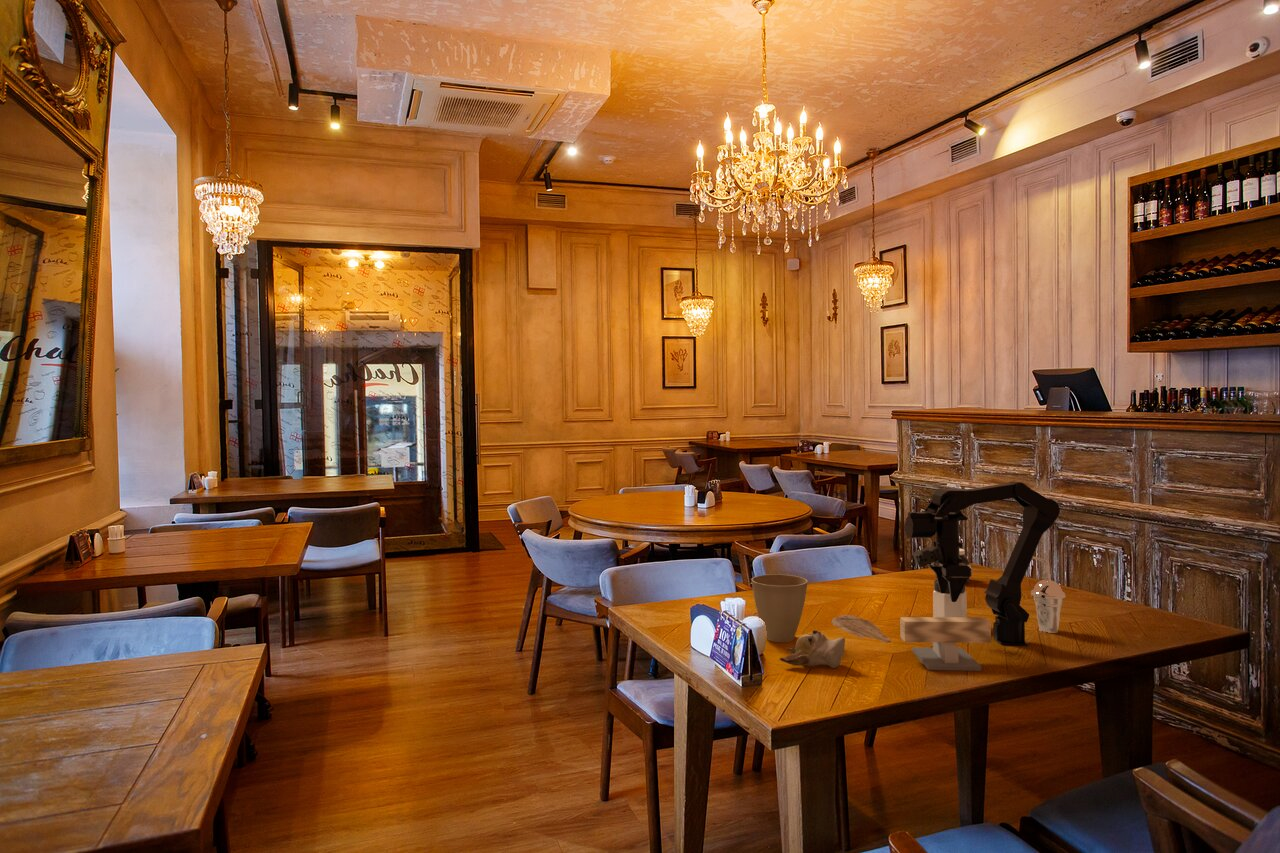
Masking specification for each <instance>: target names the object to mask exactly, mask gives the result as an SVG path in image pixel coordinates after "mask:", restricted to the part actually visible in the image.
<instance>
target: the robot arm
mask: <svg viewBox="0 0 1280 853" xmlns="http://www.w3.org/2000/svg"><path fill="white" fill-rule="evenodd" d="M1010 499H1013V500H1014V501H1015V502H1016V503H1017V504H1018V505H1019V506H1020V507H1022V508H1023V511H1022V525H1023V526H1022V529H1021V532H1020V533H1019V535H1018V537H1017V540H1016V542H1015V545H1014V547H1013V549H1012V552H1011V555H1010V557H1009V559H1008V561H1007V563H1006V566H1005V568H1004V570H1003V573H1002V574H1001V575H1000V577H999V578H998V579H997V580H994V579H990V580H989V583H988V586H987V589H986V590H985V591H984V594H985V598H984V599H985V602H986V605H987V606H988V608H990V609H991V611H992V615H995V617H994V619H995V621H994V622H993V623H992V624H993V626H992V629H993V633H992V634H993V636H992V639H993V640H995V641H996V642H998V643H999V644H1001V645H1002V646H1006V645H1007V646H1010V645H1011V646H1028V645H1029V644H1028V643H1029V642H1027V641H1026V635H1025V634H1026V629H1025V628H1026V627H1025V626H1026V623H1028V621H1029V617H1030V613H1028V611H1026V609H1025V608H1023V607H1022V606H1021V605H1020V604H1021V601H1022V597H1023V596H1022V583H1023V580H1024V578H1025V576H1026V574H1027V571H1028V569H1029V567H1030V565H1031V562H1032V560H1033V559H1032V557H1033V556H1034V555H1035V553H1036V550H1037V549H1038V546H1039V543H1040V541H1041V539H1042V536H1043V534H1044V533H1046V531H1048V530H1049V529H1050V528H1051V527H1052V526H1053V525H1054V523H1055V522H1056V521H1057V519H1058V518H1059V516H1060V513H1061V508H1060V506H1059V503H1057V501H1055V500H1054V499H1052V498H1046V497H1045V496H1044V495H1042V494H1040V493H1039V492H1037V491H1035V490H1034V489H1031V488H1030V486H1027V485H1026V484H1025V483H1023V482H1022V481H1014V480H1013V481H1012V480H1011V481H1009V482H1004V483H999V484H994V485H993V484H992V485H986V486H980V487H972V488H965V489H964V488H938V489H935V490H934V492H933V494H932V496H931V500H930V502H929V503H928V504H927V506H926V507H925V508H924V510H923V511H921V512H916V511H908V512H907V517H906V519H905V521H904V523H903V524H904V532H905V536H906V537H907V538H908V539H931V538H933V536H935V539H933V540H932V542H931V543H932V546H929V547H928V546H927V547H924V548H922V549H919V550H916V551H913V552H912V556H913V559H914V561H915V564H916V565H917V566H918V567H919V568H923V567H926V566H927V567H929V568H930V570H932V571H933V572H934V575H935V577H936V580H937V582H938V585H939V589H940V593H942V594H945V592H946V590H947V587H948V585H949V591H950V597H951V601H952V602H956V601H957V599H958V597H959V595H960V593H961V591H962V589H963V587H964V585H965V586H966V584H967V582H968V581H969V580H970V579H971V578H972V575H973V569H971V568H972V567H971V568H970V567H969V566H968V565H966V564H964V563H962V559H961V558H960V552H959V548H962V547H963V543H962V542H960V521H968V517H967V516H966V515H964V514H963V512H962V510H963V511H964V510H965V509H967V508H969V507H971V506H973V505H978V504H983V503H989V502H996V501H1002V500H1010ZM969 578H970V579H969ZM968 579H969V580H968ZM967 580H968V581H967Z"/></svg>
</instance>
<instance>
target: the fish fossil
mask: <svg viewBox="0 0 1280 853" xmlns="http://www.w3.org/2000/svg"><path fill="white" fill-rule="evenodd" d="M831 625H833V626H835V627H837V628H838V629H840V630H842V631H845V632H847V633H849V634H851V635H852V636H853V635H854V636H856V637H859V638H861V639H862V640H865V638H868V639H875V640H878V641H880V642H881V643H885V644H886V643H891V641H892V640H891V639H890V638H889V637H888V636H887V635H885V634H884V633H883V632H882V630H880V628H878V627H877V626H876V625H875V624H874V623H873V622H871V621H870V620H867V619H864V618H862V617H859V616H856V615H851V614H843V615H839V616H836V617H833V619H832V620H831ZM864 637H865V638H864Z"/></svg>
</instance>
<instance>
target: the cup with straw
mask: <svg viewBox="0 0 1280 853" xmlns="http://www.w3.org/2000/svg"><path fill="white" fill-rule="evenodd" d="M1032 560H1036V561H1040V562H1043V563H1045V564H1046V579H1043V580H1039V581H1038V582H1037V583H1036V584H1035V585H1034V587H1033V589H1031V590H1030V595H1031V596H1033V601H1034V604H1035V610H1036V611H1035V612H1036V618H1037V624H1038V626H1039V628H1038V631H1040V632H1042V631H1043V633H1046V632H1048V634H1056V633H1059V630H1058V629H1059V625H1060V616H1061V615H1060V614H1061V609H1062V604H1063V599H1065V598H1066V597H1067V596H1066V593H1065V592H1064V591H1063V589H1062V587H1061V586H1060V585H1059V583H1058V582H1055V581H1054V580H1051V579H1050V578H1051V576H1050V575H1051V574H1050V572H1051V570H1050V569H1051V568H1050V562H1049V561H1048V560H1047V559H1044V558H1041V557H1036V556H1034V555H1033V557H1032Z"/></svg>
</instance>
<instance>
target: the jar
mask: <svg viewBox="0 0 1280 853" xmlns="http://www.w3.org/2000/svg"><path fill="white" fill-rule="evenodd" d="M933 582H934V585H933V586H934V590H932V606H933V609H932V614H933V615H932V617H968V616H967V614H968V613H967V612H968V611H967V610H968V609H967V608H968V607H967V603H968V602H967V590H966V584H965V585H964V587H963V589H962V591H961V593H960V595H959V597H958V599H957V601H956V602H952V601H951V597H950V591H949V585H948V587H947V590H946V592H945V594H942V593H940V589H939V585H938V582H937V579H934V581H933Z"/></svg>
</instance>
